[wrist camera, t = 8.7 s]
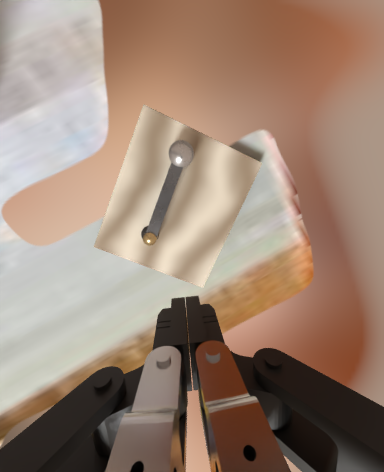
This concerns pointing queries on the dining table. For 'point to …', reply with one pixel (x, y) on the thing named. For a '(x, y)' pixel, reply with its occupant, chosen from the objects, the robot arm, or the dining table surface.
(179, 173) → the leg
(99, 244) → the hole board
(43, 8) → the dining table surface
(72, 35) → the dining table surface
